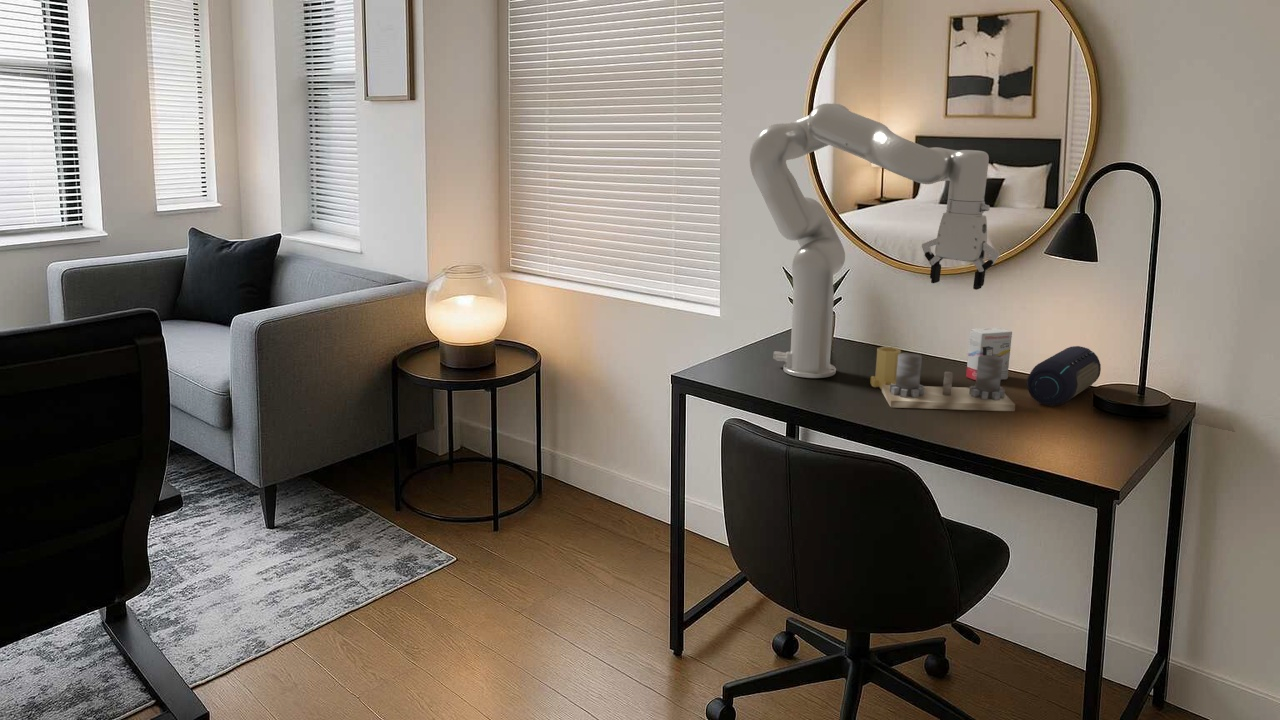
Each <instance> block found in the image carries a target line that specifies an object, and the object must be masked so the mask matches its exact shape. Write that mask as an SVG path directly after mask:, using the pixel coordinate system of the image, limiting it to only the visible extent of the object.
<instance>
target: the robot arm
mask: <svg viewBox="0 0 1280 720" xmlns="http://www.w3.org/2000/svg"><path fill="white" fill-rule="evenodd" d="M828 146H831V147H833V148H835V149H838V150H841V151H843V152H846V153H849V154H851V155H854V156H856V157H857V158H861V159H862V160H865V161H866V162H867V161H868V162H869V163H871V164H873V165H876V166H878V167H880V168H882V169H884V170H887V171H889V172H891V173H893V174H896V175H898V176H900V177H903V178H905V179H908V180H910V181H913V182H916V183H918V184H922V185H933V184H936V183H939V182H947V181H949V183H948V184H949V186H948V193H947V195H948V196H947V203H946V212H944V213H943V214H942V217H941V219H940V223H939V226H938V227H939V228H938V231H937V234H936V235H937V236H936V238H934V239H931V240H929V241H926V242H924V243H922V244H921V248H922V252H923V253H924V256H925V258H926V260H927V261H928V263H929V266H930V275H929V277H930V278H929V279H930V283H931V284H937V283H939V282H940V280H941V270H942V265H941V264H940V263H941V261H942V260H944V259H945V260H952V261H959V262H961V261H962V262H968V263H969V262H970V263H973V265H974V266H975V268H976V271H975V273H974V278H973V287H972V288H973V290H976V291H977V290H980V289H982V287H983V286H984V285H985V278H986V271H987V270H989V269H990V268H991V267H993V266H994V265H995V263H996V262H997V260H998V259H999V257H1000V256H1001V252H1000V251H998V250H997V249H995V248H994V247H993V246H990V245H989V244H988V221H987V215H983V214H984V212H989V211H990V208H991V206H990V205H989V204H986V202H985V195H986V187H987V180H988V179H987V178H988V171H989V170H988V169H989V162H990V161H989V160H990V158H989V154H988V153H987V152H986V151H983V150H974V149H961V150H959V149H958V150H956V149H950V148H943V147H940V146H939V147H936V146H935V147H934V146H933V147H927V146H924V145H922V144H919V143H916V142H915V141H911V140H910V139H907V138H905V137H902V136H900V135H898V134H896V133H894V132H893V131H892V130H891V129H889V127H888V126H887V125H885V124H883V122H880V121H876V120H874V119H872V118H868V117H866V116H864V115H861V114H858V113H855V112H853V111H851V110H850V109H849V108H847V107H846V106H845V105H843V104H840V103H827V102H826V103H821V104H819V105H817V106H816V107H813V109H812V110H811V112H810V113H809V115H806V116H803V117H801V118H799V119H796V120H794V121H791V122H789V123H783V122H782V123H775V124H771V125H769V126H767V127H765V128H764V129H762V131H761V132H760V133H758V135H757V137H756V138H755V140H754V142H753V143H752V146H751V148H750V153H749V167H750V171H751V174H752V177H753V179H754V181H755V183H756V185H757V187H758V189H759V192H760V194H761V195H762V197H763V200H764V201H765V204H766V207H767V208H768V210H769V212H770V215H771V217H772V218H773V221H774V223H775V226H776V227H777V229H778V231H779V233H780V234H781V236H782V237H783V238H785V239H787V240H789V241H792V242H793V241H794V242H798V244H799V246H800V247H799V249H797V251H796V252H795V254H794V256H793V259H792V264H791V270H792V271H791V274H792V276H791V277H792V287H793V288H792V291H793V293H792V295H793V296H792V316H791V334H790V335H791V336H790V350H789V351H786V352H782V351H777V350H776V351H775V350H774V351H773V354H772V355H773V356H772V358H773V359H774V360H775V361H776V362H784V363H785V364H783V372H784V373H785V374H788V375H790V376H794V377H799V378H804V379H805V378H806V379H823V378H829V377H833V376H835V374H836V373H837V368H836V366H834V365H833V364H831V351H832V335H833V333H832V332H833V320H834V319H833V317H834V302H835V301H834V297H835V294H834V293H835V292H834V291H835V290H834V275H836V274H837V273H838V272H840V270H841V269H842V268H843V266H844V265H845V261H846V251H845V249H844V246H843V243H842V241H841V239H840V237H839V235H838V233H837V231H836V228H835V227H834V225H833V223H832V221H831V219H830V217H829V215H828V213H827V212H826V209H825V208H824V207H823V206H822V204H821V203H820V202H819V201H818V200H816V199H814V198H811V197H808V196H807V197H805V196H804V194H803V192H802V190H801V189H800V187H799V184H798V182H797V179H796V178H795V176H794V175H793V173H792V172H791V171H790V169H789V167H788V164H787V161H789V160H795V159H798V158H801V157H804V156H805V155H808V154H810V153H812V152H815V151H818V150H820V149H823V148H825V147H828ZM934 246H935V251H934V253H935V254H934V253H933V252H932V250H931V248H932V247H934ZM987 254H988V255H989V259H988V260H987V261H985V260H984V259H986V255H987Z"/></svg>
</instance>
